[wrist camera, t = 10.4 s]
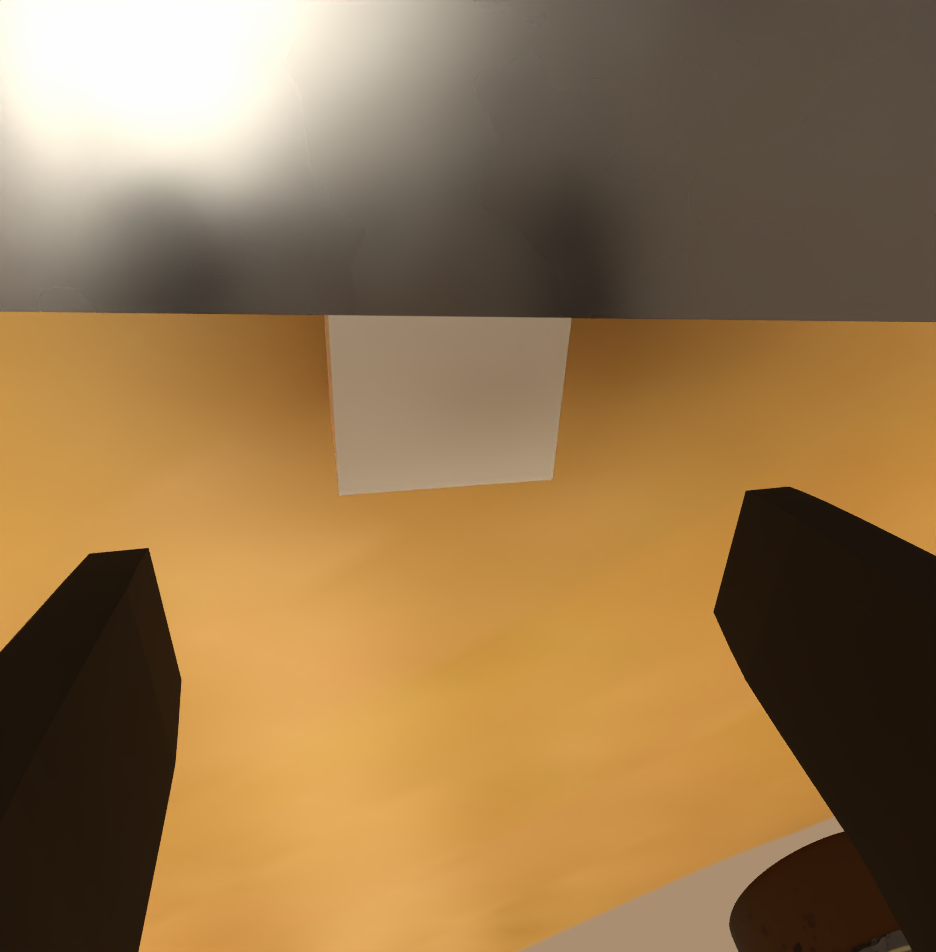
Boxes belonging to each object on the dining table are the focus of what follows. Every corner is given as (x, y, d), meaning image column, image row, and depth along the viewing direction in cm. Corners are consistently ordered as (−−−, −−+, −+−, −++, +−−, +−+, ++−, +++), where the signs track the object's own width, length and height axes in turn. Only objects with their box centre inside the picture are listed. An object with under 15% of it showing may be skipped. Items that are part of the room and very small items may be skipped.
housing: (971, -108, 13) (1314, -161, 9) (852, 235, 16) (1063, 323, 12) (-403, -324, 9) (-1068, -632, 5) (-212, 193, 12) (-500, 305, 8)
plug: (594, -714, 9) (732, -1033, 6) (508, 400, 17) (552, 479, 14) (254, -797, 8) (238, -1202, 6) (330, 410, 16) (338, 496, 13)
